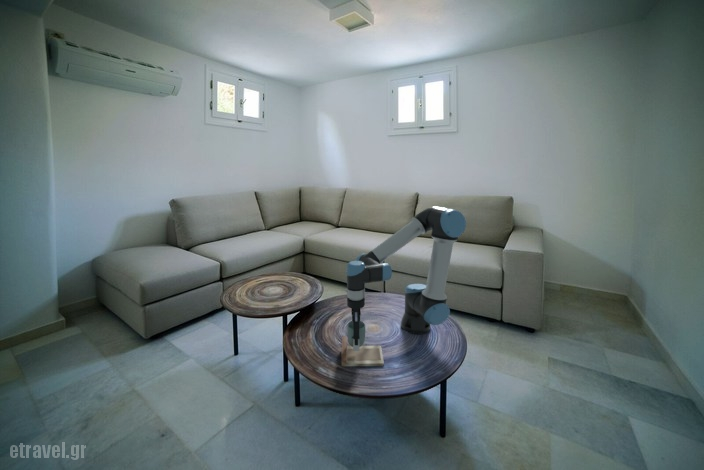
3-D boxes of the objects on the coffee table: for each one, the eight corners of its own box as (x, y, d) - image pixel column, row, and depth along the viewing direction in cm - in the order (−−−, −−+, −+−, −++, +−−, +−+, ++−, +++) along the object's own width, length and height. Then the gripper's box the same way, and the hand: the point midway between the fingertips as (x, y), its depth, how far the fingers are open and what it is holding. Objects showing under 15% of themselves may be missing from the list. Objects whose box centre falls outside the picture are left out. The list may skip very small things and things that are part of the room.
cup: (356, 338, 139) (356, 318, 137) (368, 345, 134) (368, 324, 132) (344, 345, 134) (343, 324, 132) (356, 352, 128) (356, 331, 126)
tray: (380, 347, 142) (381, 335, 140) (383, 365, 129) (383, 353, 127) (342, 348, 142) (342, 336, 140) (341, 366, 129) (341, 353, 128)
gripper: (347, 287, 139) (348, 332, 144) (346, 308, 119) (347, 359, 124) (363, 287, 139) (363, 331, 144) (365, 308, 118) (365, 359, 124)
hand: (356, 344), depth 134 cm, fingers closed on cup, 8 cm apart
